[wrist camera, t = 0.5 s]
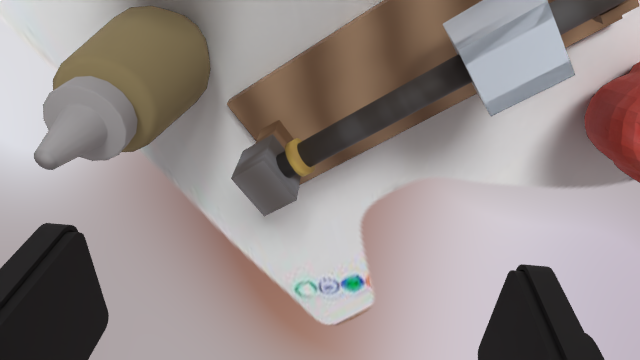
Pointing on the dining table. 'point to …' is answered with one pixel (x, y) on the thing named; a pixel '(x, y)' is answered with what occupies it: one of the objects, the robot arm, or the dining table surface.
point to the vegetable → (617, 121)
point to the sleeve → (509, 50)
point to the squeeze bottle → (124, 86)
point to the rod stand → (367, 90)
